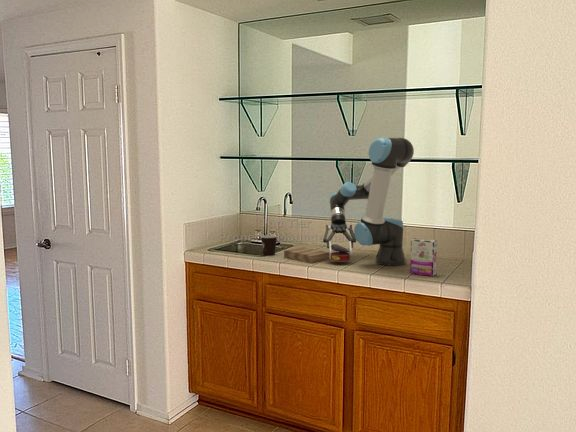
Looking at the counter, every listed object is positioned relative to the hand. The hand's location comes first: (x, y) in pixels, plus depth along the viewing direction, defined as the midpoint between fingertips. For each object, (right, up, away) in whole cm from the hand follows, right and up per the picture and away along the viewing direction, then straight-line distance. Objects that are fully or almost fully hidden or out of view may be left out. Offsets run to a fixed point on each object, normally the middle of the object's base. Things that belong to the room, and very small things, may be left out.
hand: (340, 252), depth 262 cm
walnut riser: (-17, -4, +15) cm, 23 cm away
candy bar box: (+37, -9, -19) cm, 42 cm away
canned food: (0, -4, +4) cm, 5 cm away
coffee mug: (-37, -3, +27) cm, 46 cm away
